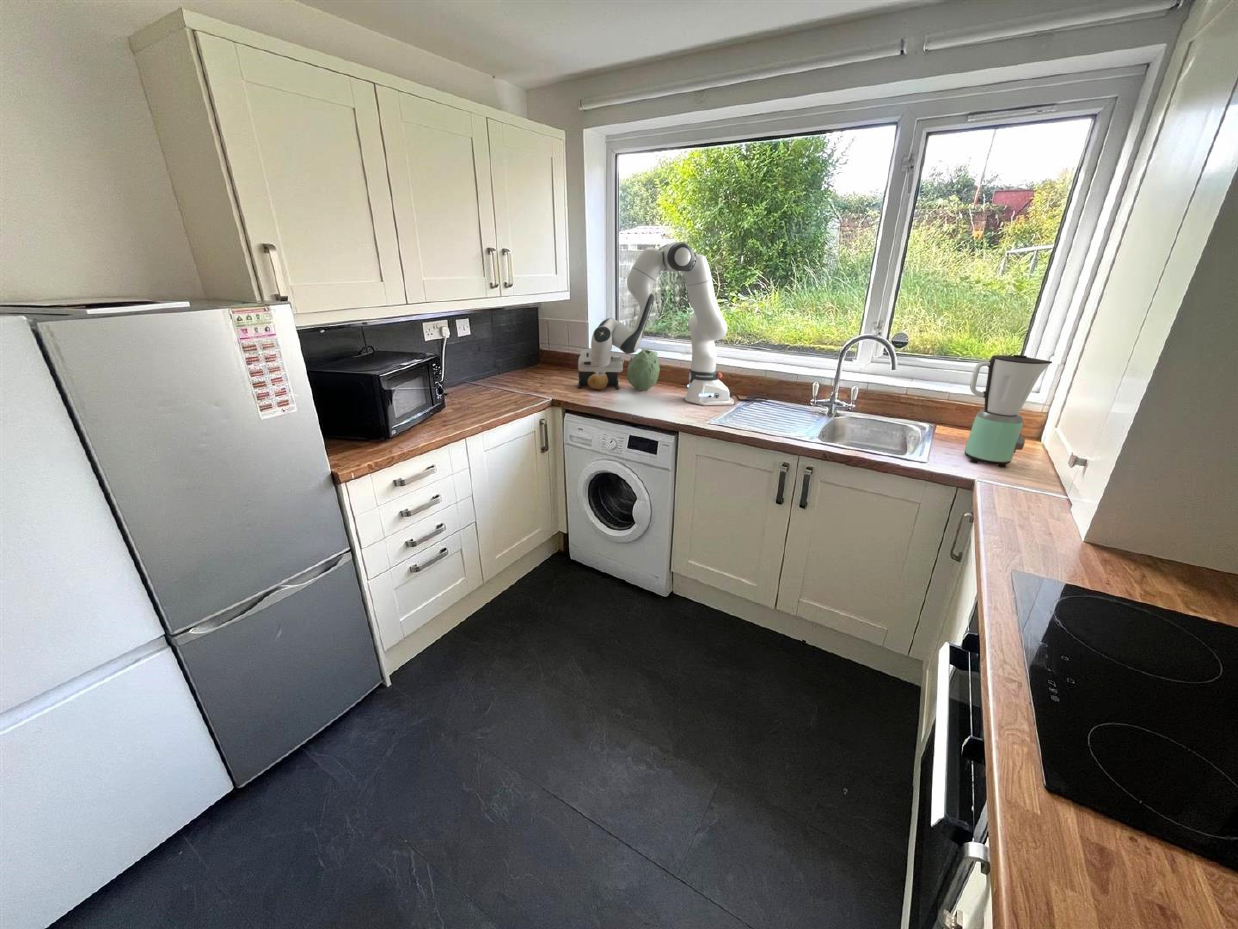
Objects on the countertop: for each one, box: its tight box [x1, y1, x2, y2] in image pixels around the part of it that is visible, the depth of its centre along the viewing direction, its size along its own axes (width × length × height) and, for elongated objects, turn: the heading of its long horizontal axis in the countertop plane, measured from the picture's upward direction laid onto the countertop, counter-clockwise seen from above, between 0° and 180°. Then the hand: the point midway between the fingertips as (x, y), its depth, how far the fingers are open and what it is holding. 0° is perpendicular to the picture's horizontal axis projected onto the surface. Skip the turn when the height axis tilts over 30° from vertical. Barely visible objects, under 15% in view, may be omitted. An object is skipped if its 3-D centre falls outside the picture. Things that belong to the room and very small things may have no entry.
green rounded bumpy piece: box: [626, 347, 661, 392], centre depth 245 cm, size 16×19×20 cm
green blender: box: [964, 354, 1053, 469], centre depth 161 cm, size 19×13×35 cm
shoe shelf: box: [577, 370, 620, 391], centre depth 250 cm, size 20×9×11 cm, turn 94°
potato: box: [587, 373, 608, 390], centre depth 246 cm, size 10×14×8 cm
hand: (600, 374), depth 229 cm, fingers closed
